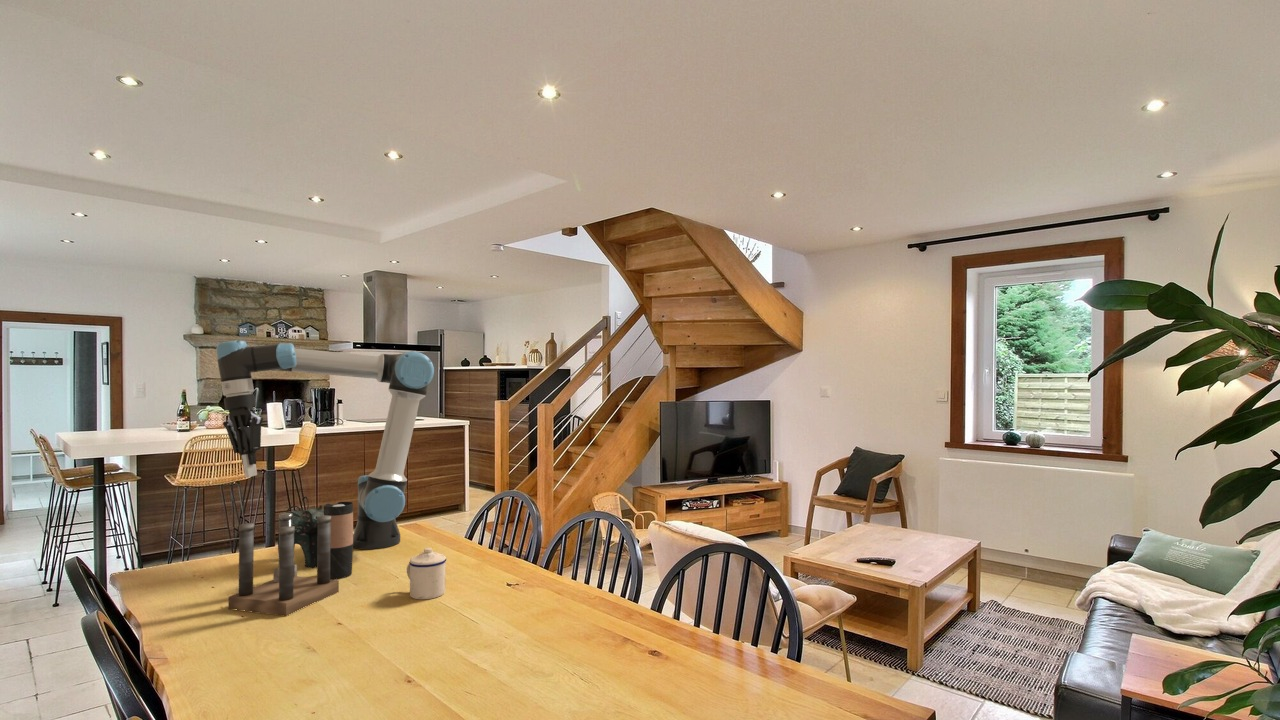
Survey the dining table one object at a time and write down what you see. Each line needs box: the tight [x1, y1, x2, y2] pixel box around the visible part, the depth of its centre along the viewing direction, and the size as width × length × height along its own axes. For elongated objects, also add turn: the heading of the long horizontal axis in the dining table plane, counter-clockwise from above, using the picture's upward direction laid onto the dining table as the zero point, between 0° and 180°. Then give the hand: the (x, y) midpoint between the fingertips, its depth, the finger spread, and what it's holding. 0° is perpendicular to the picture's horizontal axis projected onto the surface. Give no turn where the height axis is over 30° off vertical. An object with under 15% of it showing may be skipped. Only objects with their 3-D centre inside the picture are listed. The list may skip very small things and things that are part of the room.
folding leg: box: [278, 512, 293, 551], centre depth 166 cm, size 3×3×15 cm
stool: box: [227, 516, 340, 617], centre depth 158 cm, size 17×17×20 cm
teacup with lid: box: [406, 547, 447, 600], centre depth 163 cm, size 12×9×12 cm
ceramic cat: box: [277, 496, 324, 569], centre depth 190 cm, size 20×6×20 cm, turn 58°
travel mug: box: [323, 501, 354, 580], centre depth 178 cm, size 8×8×20 cm
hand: (251, 476), depth 181 cm, fingers closed
